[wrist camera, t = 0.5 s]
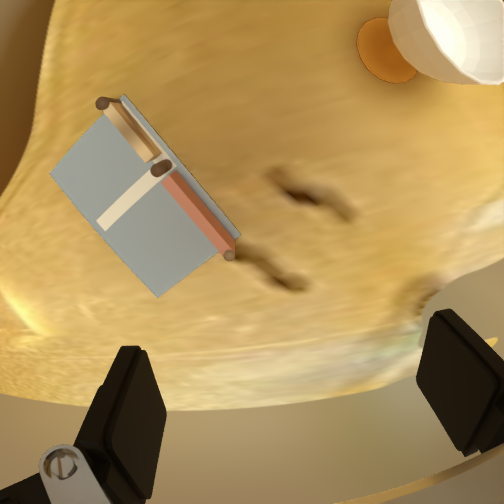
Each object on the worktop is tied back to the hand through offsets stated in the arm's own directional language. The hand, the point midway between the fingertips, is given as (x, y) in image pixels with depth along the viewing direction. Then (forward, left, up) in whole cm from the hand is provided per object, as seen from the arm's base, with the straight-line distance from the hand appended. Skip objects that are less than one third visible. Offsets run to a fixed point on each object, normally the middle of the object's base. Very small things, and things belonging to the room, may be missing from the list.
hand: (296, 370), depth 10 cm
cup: (-4, +25, -30) cm, 39 cm away
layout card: (-7, -11, -30) cm, 33 cm away
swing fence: (-2, -6, -29) cm, 30 cm away
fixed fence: (-13, -6, -30) cm, 33 cm away
